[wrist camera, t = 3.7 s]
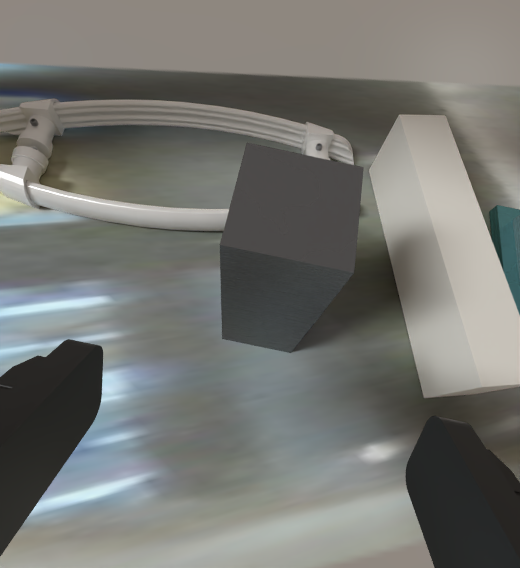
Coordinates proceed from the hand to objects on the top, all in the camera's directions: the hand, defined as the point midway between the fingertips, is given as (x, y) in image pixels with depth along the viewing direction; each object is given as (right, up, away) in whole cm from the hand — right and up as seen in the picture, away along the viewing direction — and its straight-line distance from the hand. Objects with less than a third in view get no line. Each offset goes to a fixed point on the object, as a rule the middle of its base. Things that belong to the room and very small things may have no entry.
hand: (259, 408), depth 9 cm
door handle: (-6, +11, +17) cm, 21 cm away
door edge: (+10, +4, +15) cm, 18 cm away
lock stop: (0, +1, +13) cm, 13 cm away
